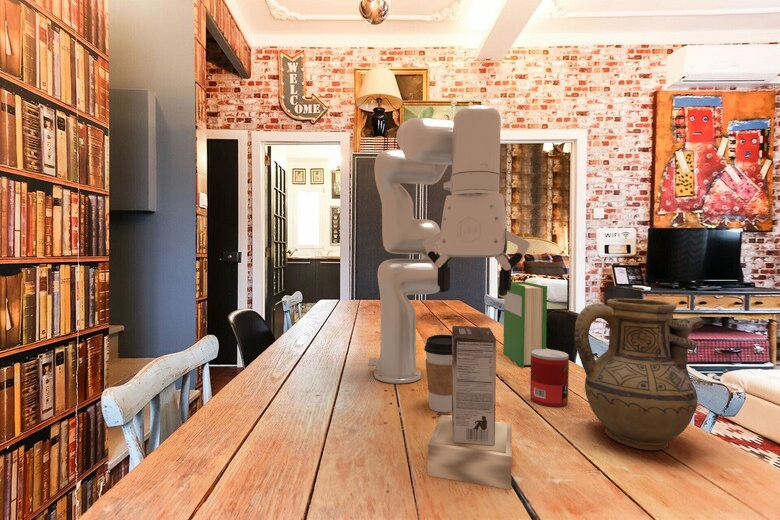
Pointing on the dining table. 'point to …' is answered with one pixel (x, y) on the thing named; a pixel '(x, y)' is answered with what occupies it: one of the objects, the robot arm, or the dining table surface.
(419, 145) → the robot arm
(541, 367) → the canned food
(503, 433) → the beige square tray
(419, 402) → the dining table surface
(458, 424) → the coffee box
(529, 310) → the hardback book
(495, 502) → the dining table surface
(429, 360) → the coffee cup
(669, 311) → the decorative pitcher
